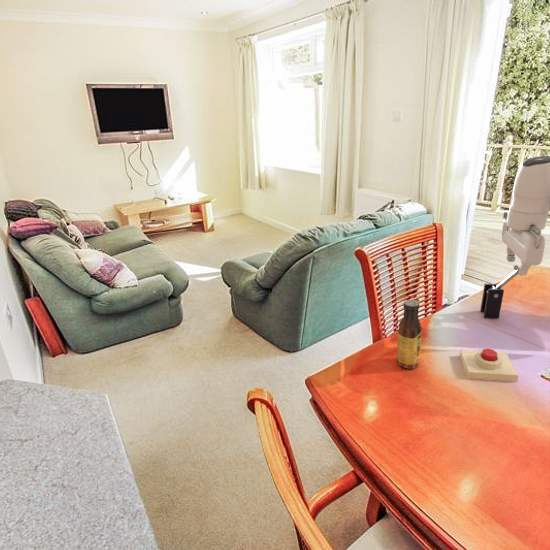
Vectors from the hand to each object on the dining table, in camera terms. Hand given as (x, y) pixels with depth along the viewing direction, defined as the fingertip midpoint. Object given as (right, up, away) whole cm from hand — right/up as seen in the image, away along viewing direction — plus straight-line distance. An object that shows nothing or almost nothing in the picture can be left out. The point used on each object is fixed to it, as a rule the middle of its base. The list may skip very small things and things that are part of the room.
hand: (515, 267), depth 106 cm
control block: (-9, -28, -2) cm, 30 cm away
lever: (+7, -5, +15) cm, 18 cm away
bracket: (+5, -17, +21) cm, 28 cm away
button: (-9, -25, -3) cm, 27 cm away
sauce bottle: (-30, -28, +3) cm, 41 cm away
